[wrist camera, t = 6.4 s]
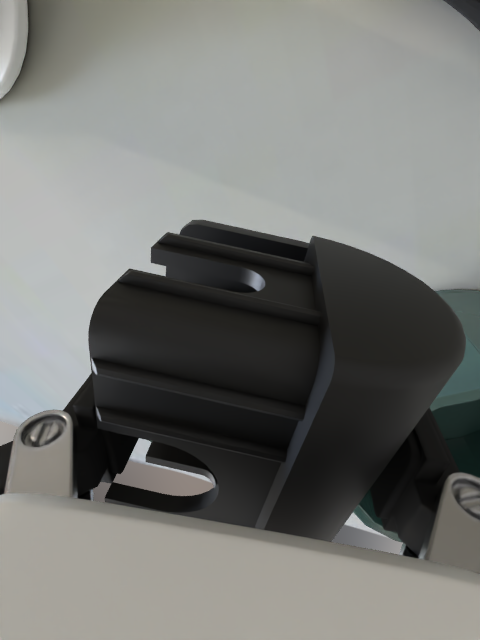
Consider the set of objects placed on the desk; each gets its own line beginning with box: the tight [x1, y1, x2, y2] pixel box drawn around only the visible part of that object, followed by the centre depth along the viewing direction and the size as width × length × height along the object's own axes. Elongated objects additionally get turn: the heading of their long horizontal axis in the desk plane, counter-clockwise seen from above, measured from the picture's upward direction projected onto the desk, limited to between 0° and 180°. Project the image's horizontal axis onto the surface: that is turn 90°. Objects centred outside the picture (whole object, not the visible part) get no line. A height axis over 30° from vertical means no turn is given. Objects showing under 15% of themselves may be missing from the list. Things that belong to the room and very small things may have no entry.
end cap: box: [89, 220, 466, 542], centre depth 10 cm, size 10×7×7 cm
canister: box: [353, 289, 480, 542], centre depth 24 cm, size 17×17×10 cm
